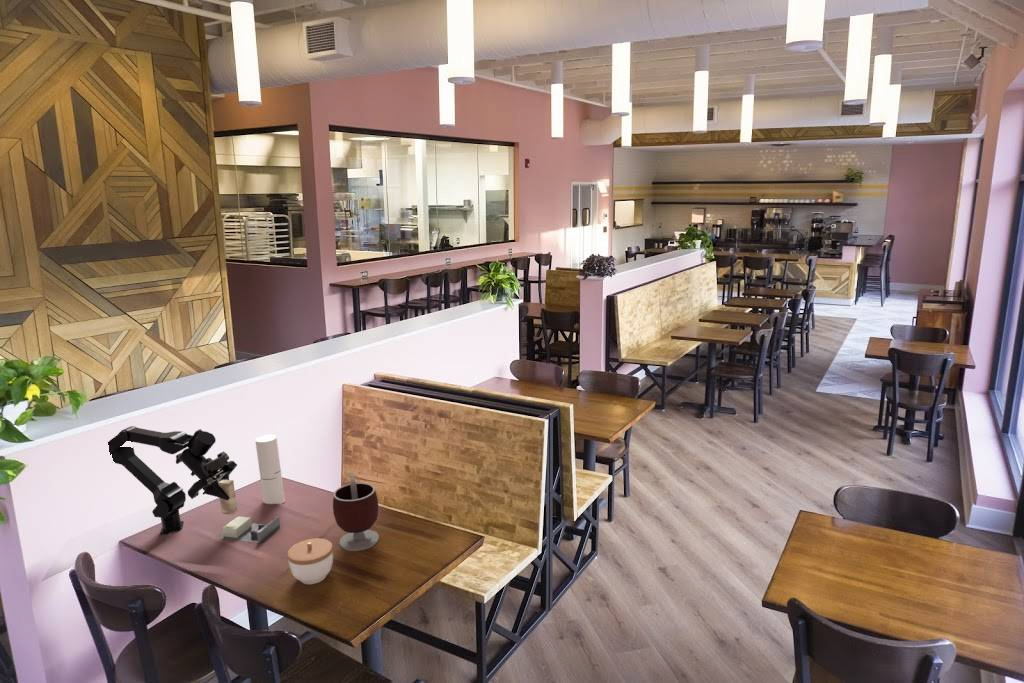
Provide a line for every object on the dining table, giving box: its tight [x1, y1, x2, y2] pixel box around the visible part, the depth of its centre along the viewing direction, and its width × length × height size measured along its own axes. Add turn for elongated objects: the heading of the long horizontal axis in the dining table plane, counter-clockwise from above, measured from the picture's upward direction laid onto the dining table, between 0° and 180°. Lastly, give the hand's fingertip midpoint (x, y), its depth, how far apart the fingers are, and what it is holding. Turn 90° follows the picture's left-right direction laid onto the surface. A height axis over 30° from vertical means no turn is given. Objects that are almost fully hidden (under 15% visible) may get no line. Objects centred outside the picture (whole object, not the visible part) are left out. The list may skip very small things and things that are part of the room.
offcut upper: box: [222, 515, 252, 534], centre depth 224 cm, size 5×8×2 cm, turn 165°
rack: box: [214, 516, 283, 544], centre depth 223 cm, size 18×11×5 cm, turn 75°
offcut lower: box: [222, 521, 252, 538], centre depth 224 cm, size 5×8×2 cm, turn 165°
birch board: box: [218, 479, 239, 516], centre depth 222 cm, size 4×2×11 cm, turn 76°
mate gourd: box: [332, 472, 380, 552], centre depth 216 cm, size 16×14×20 cm
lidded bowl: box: [286, 537, 334, 585], centre depth 197 cm, size 13×13×11 cm
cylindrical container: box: [254, 434, 286, 505], centre depth 244 cm, size 7×7×25 cm
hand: (231, 497), depth 222 cm, fingers closed on birch board, 2 cm apart
